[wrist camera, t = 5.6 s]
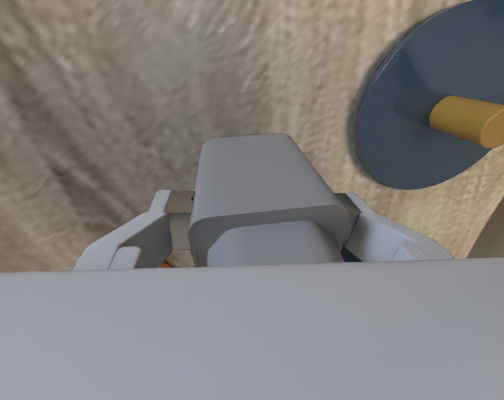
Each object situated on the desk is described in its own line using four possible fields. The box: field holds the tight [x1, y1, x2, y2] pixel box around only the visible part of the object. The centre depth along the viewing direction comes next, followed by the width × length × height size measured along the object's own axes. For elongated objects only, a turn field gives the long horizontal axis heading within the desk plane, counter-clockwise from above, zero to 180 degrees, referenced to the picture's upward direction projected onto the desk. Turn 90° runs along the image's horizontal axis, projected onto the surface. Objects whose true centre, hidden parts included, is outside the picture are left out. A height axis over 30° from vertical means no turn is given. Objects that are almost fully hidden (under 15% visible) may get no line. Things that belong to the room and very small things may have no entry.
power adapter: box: [188, 133, 349, 267], centre depth 9 cm, size 3×5×12 cm, turn 92°
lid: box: [356, 0, 504, 190], centre depth 15 cm, size 13×13×5 cm
